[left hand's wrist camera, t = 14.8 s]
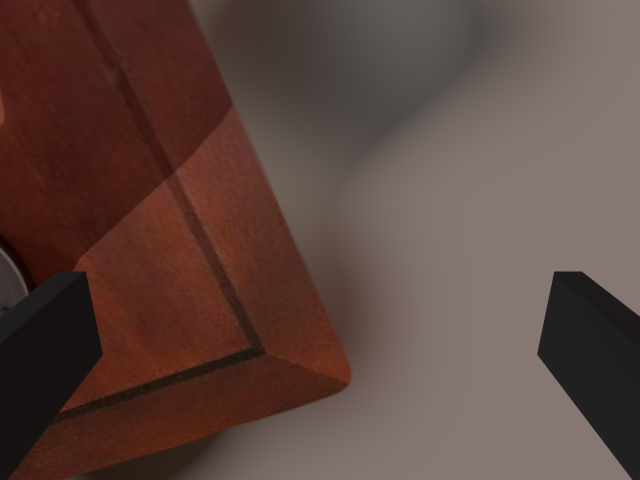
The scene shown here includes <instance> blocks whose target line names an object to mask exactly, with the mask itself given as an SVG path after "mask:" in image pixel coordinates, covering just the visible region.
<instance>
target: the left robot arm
mask: <svg viewBox="0 0 640 480" xmlns="http://www.w3.org/2000/svg"><path fill="white" fill-rule="evenodd" d="M102 355H103V353H102V348H101V343H100V339H99V334H98V329H97V324H96V319H95V314H94V310H93V305H92V300H91V295H90V290H89V285H88V281H87V276H86V272H57V273H56V274H54V275H53V276H52V277H51V278H49V279H48V280H47V281H45V282H44V283H43V284H42V285H40V286H39V287H38V288H36V289H35V290H34V286H33V283H32V280H31V277H30V275H29V273H28V271H27V269H26V267H25V265H24V264H23V262H22V261H21V259H20V258H19V257H18V255H17V254H16V253H15V252H14V250H13V249H12V248H11V247H10V246H9V245H8V244H7V243H6V242H5V241H4V240H3V239H2V238H0V480H8V479H9V477H10V476H11V475H12V473H13V472H14V471H15V469H16V468H17V467H18V465H19V464H20V463H21V461H22V460H23V459H24V458H25V456H26V455H27V454H28V452H29V451H30V450H31V448H32V447H33V446H34V444H35V443H36V442H37V440H38V439H39V438H40V436H41V435H42V434H43V433H44V431H45V430H46V429H47V427H48V426H49V425H50V423H51V422H52V421H53V419H54V418H55V417H56V415H57V414H58V413H59V411H60V410H61V409H62V407H63V406H64V405H65V404H66V402H67V401H68V400H69V398H70V397H71V396H72V394H73V393H74V392H75V390H76V389H77V388H78V386H79V385H80V384H81V382H82V381H83V380H84V379H85V377H86V376H87V375H88V373H89V372H90V371H91V369H92V368H93V367H94V365H95V364H96V363H97V361H98V360H99V359H100V357H101V356H102ZM537 355H538V356H539V357H540V359H541V360H542V361H543V363H544V364H545V365H546V367H547V368H548V369H549V371H550V372H551V373H552V375H553V376H554V377H555V378H556V380H557V381H558V382H559V384H560V385H561V386H562V388H563V389H564V390H565V392H566V393H567V394H568V396H569V397H570V398H571V400H572V401H573V402H574V404H575V405H576V406H577V407H578V409H579V410H580V411H581V413H582V414H583V415H584V417H585V418H586V419H587V421H588V422H589V423H590V425H591V426H592V427H593V429H594V430H595V431H596V433H597V434H598V435H599V436H600V438H601V439H602V440H603V442H604V443H605V444H606V446H607V447H608V448H609V450H610V451H611V452H612V454H613V455H614V456H615V458H616V459H617V460H618V461H619V463H620V464H621V465H622V467H623V468H624V469H625V471H626V472H627V473H628V475H629V476H630V477H631V479H632V480H640V316H638V315H637V314H636V313H634V312H633V311H632V310H631V309H629V308H628V307H627V306H625V305H624V304H623V303H621V302H620V301H619V300H618V299H616V298H615V297H614V296H613V295H611V294H610V293H609V292H607V291H606V290H605V289H604V288H602V287H601V286H600V285H598V284H597V283H596V282H595V281H593V280H592V279H591V278H589V277H588V276H587V275H586V274H584V273H583V272H554V276H553V281H552V286H551V290H550V295H549V300H548V305H547V310H546V314H545V319H544V324H543V329H542V334H541V339H540V343H539V348H538V353H537Z"/></svg>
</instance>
